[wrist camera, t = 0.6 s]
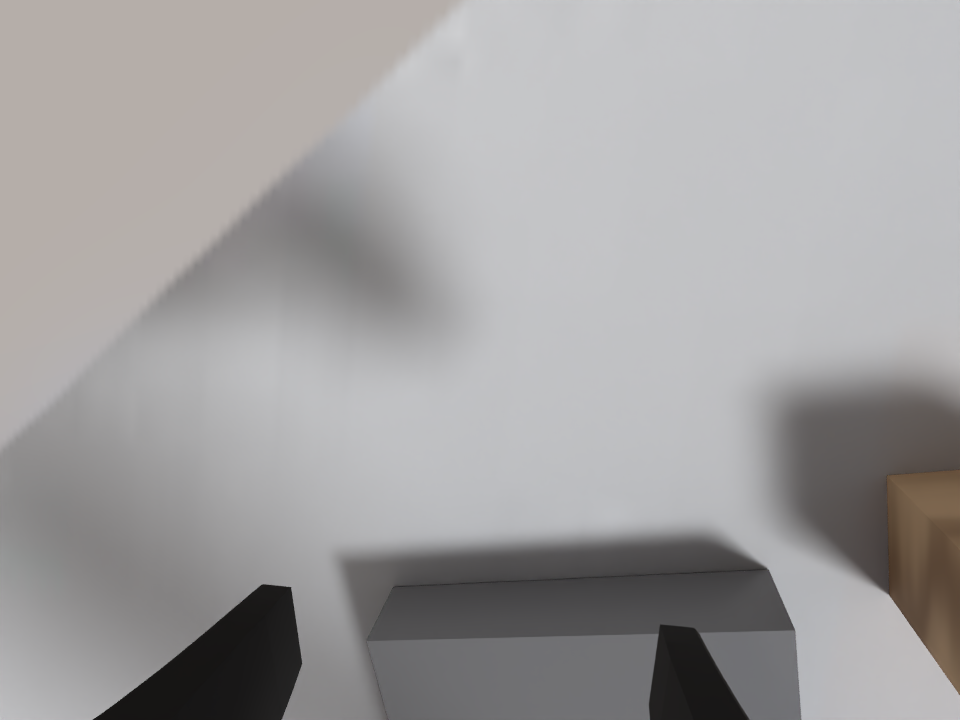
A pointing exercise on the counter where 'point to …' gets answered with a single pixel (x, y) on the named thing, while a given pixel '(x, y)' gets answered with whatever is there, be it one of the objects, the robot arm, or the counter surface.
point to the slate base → (577, 646)
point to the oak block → (927, 560)
